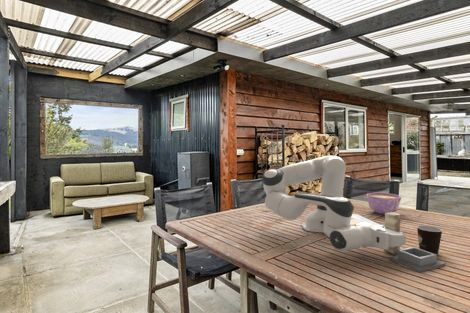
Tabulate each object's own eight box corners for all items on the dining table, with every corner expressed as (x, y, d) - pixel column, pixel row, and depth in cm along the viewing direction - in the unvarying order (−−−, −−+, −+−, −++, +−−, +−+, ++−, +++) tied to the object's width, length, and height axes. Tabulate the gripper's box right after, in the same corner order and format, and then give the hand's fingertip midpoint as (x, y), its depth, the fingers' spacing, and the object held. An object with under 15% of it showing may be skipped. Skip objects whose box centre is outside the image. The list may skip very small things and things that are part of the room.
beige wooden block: (392, 253, 116) (393, 215, 115) (384, 250, 120) (385, 213, 119) (399, 252, 117) (400, 214, 117) (391, 248, 121) (391, 212, 120)
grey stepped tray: (419, 272, 99) (419, 261, 99) (389, 259, 110) (389, 249, 110) (445, 265, 104) (445, 255, 104) (413, 254, 115) (414, 244, 115)
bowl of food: (407, 216, 173) (408, 198, 172) (375, 217, 173) (375, 198, 173) (390, 209, 193) (390, 192, 192) (361, 209, 193) (361, 192, 193)
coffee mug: (442, 257, 111) (443, 233, 111) (416, 253, 116) (417, 229, 116) (439, 248, 121) (440, 225, 121) (416, 244, 126) (416, 222, 125)
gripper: (347, 234, 122) (371, 230, 127) (389, 251, 103) (415, 246, 109) (348, 220, 122) (371, 217, 127) (390, 234, 103) (415, 229, 108)
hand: (392, 230), depth 118 cm, fingers open, 8 cm apart
